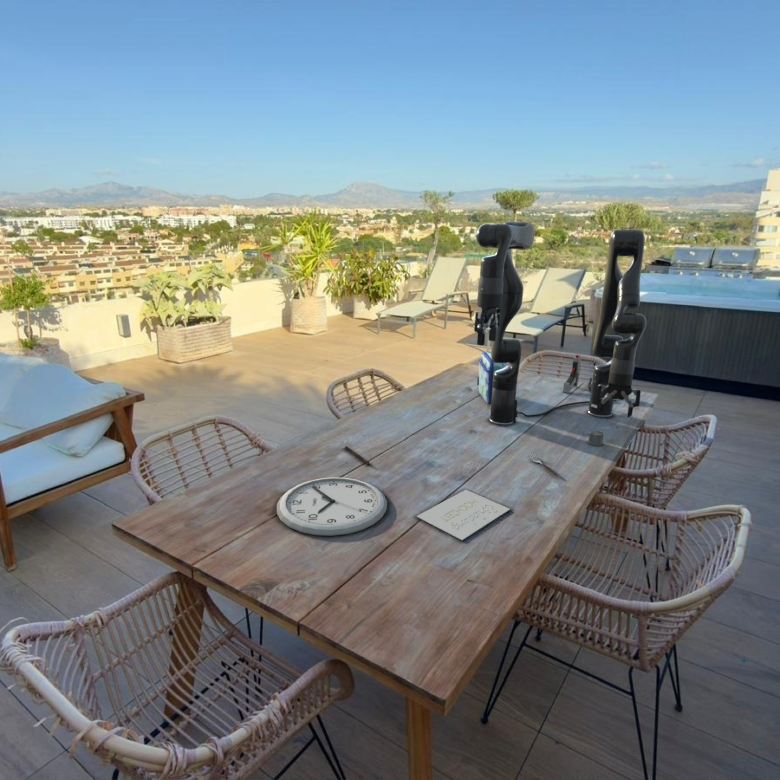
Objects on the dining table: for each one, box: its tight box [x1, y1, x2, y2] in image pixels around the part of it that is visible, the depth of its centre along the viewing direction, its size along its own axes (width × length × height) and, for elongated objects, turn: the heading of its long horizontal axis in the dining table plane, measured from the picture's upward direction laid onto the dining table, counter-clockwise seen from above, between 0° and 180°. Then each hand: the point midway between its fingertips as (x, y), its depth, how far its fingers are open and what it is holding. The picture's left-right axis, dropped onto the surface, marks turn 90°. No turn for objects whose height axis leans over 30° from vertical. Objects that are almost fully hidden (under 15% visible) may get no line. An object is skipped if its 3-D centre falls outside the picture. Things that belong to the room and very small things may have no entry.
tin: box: [587, 429, 604, 447], centre depth 187 cm, size 5×5×4 cm
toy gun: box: [562, 354, 582, 394], centre depth 247 cm, size 2×16×15 cm
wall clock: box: [276, 476, 388, 537], centre depth 142 cm, size 30×2×30 cm
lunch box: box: [476, 351, 508, 406], centre depth 230 cm, size 26×11×21 cm, turn 179°
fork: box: [528, 451, 559, 477], centre depth 167 cm, size 3×16×2 cm, turn 15°
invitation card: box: [416, 489, 511, 541], centre depth 140 cm, size 21×1×15 cm
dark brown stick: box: [344, 445, 370, 465], centre depth 173 cm, size 15×1×1 cm, turn 34°
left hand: (486, 342), depth 166 cm, fingers open, 8 cm apart
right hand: (615, 415), depth 185 cm, fingers open, 8 cm apart
